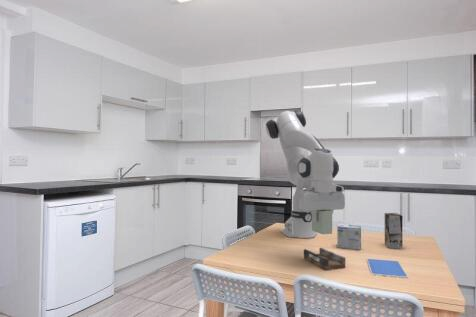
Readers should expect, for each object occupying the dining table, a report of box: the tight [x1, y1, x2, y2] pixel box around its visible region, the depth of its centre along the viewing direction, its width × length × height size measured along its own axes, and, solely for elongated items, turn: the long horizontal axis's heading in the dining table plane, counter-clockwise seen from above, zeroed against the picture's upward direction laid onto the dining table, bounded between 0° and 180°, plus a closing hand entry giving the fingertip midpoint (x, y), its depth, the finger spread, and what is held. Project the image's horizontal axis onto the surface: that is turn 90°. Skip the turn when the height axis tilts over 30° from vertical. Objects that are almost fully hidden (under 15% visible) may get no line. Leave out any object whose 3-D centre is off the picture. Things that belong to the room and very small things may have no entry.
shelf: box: [303, 247, 346, 271], centre depth 134 cm, size 16×9×4 cm, turn 20°
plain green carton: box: [312, 210, 333, 235], centre depth 134 cm, size 5×8×9 cm, turn 20°
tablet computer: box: [366, 258, 409, 279], centre depth 127 cm, size 19×13×1 cm, turn 163°
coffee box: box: [384, 212, 404, 250], centre depth 161 cm, size 9×6×16 cm
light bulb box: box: [336, 223, 362, 251], centre depth 159 cm, size 11×7×11 cm, turn 65°
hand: (322, 220), depth 134 cm, fingers closed on plain green carton, 5 cm apart
